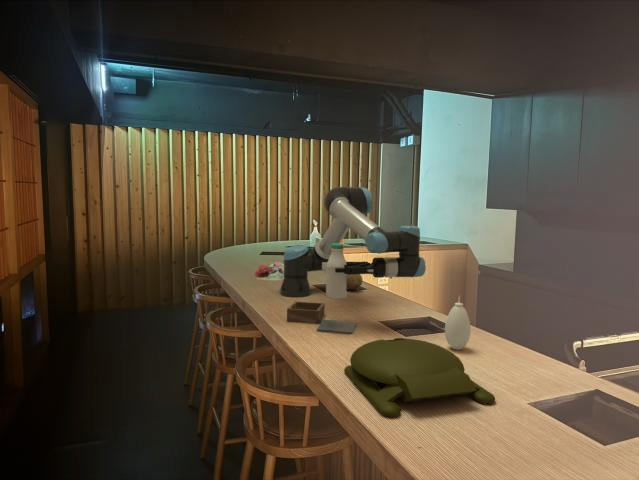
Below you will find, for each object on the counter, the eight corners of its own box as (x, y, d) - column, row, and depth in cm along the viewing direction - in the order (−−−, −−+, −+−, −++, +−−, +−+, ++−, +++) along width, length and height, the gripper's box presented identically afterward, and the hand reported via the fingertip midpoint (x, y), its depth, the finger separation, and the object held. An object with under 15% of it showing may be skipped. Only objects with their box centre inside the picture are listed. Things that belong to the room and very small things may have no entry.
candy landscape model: (254, 273, 281) (254, 258, 280) (293, 273, 283) (293, 258, 282) (253, 281, 256) (253, 265, 255) (295, 281, 259) (295, 265, 258)
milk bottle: (345, 300, 166) (346, 245, 164) (324, 298, 168) (325, 244, 166) (348, 295, 174) (349, 243, 172) (328, 294, 176) (328, 242, 173)
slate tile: (323, 321, 180) (323, 319, 179) (356, 324, 177) (356, 322, 177) (316, 331, 167) (316, 329, 167) (352, 334, 164) (352, 332, 164)
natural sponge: (362, 293, 231) (363, 273, 229) (345, 292, 231) (345, 273, 230) (361, 289, 240) (362, 270, 238) (344, 288, 240) (345, 269, 239)
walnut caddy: (294, 313, 191) (295, 301, 190) (324, 315, 188) (324, 303, 188) (286, 321, 179) (287, 308, 178) (318, 323, 176) (318, 311, 176)
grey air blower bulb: (439, 346, 153) (441, 293, 151) (458, 343, 156) (460, 292, 154) (454, 354, 146) (457, 299, 144) (474, 351, 149) (477, 297, 147)
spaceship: (499, 405, 112) (502, 367, 111) (384, 422, 103) (385, 380, 102) (426, 355, 146) (428, 325, 145) (334, 364, 137) (335, 332, 136)
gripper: (391, 282, 163) (328, 283, 159) (376, 272, 183) (319, 273, 180) (392, 261, 162) (328, 262, 159) (376, 253, 182) (320, 254, 179)
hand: (324, 268), depth 169 cm, fingers closed on milk bottle, 8 cm apart
